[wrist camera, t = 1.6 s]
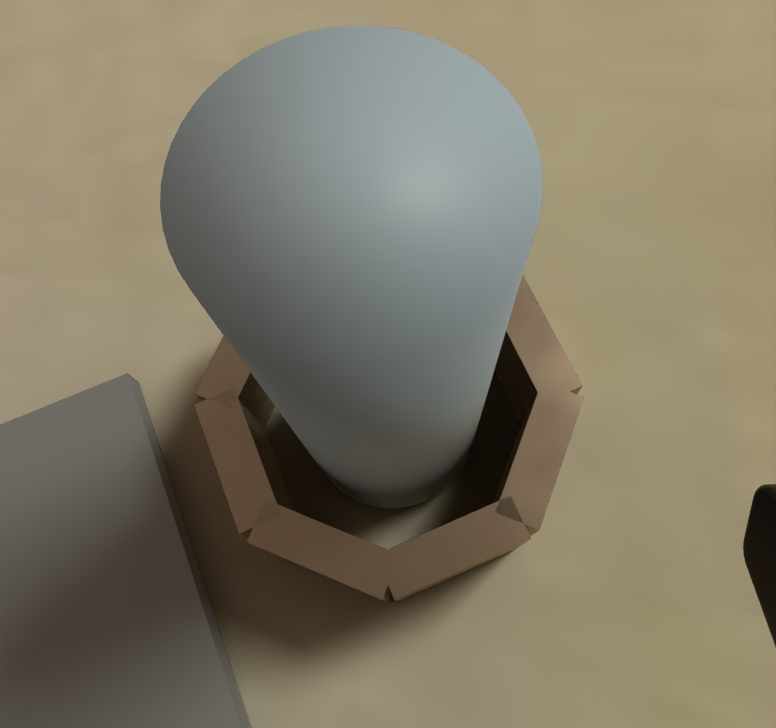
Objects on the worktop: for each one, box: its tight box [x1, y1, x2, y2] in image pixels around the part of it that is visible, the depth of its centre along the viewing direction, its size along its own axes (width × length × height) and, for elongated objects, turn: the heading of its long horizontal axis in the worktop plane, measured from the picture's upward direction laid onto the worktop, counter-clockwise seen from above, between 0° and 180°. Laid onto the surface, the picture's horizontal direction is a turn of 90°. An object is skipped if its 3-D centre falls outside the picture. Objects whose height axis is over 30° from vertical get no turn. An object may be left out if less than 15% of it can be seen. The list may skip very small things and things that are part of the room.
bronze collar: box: [194, 275, 584, 601], centre depth 18 cm, size 8×8×3 cm
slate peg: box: [160, 26, 543, 509], centre depth 14 cm, size 4×4×12 cm
